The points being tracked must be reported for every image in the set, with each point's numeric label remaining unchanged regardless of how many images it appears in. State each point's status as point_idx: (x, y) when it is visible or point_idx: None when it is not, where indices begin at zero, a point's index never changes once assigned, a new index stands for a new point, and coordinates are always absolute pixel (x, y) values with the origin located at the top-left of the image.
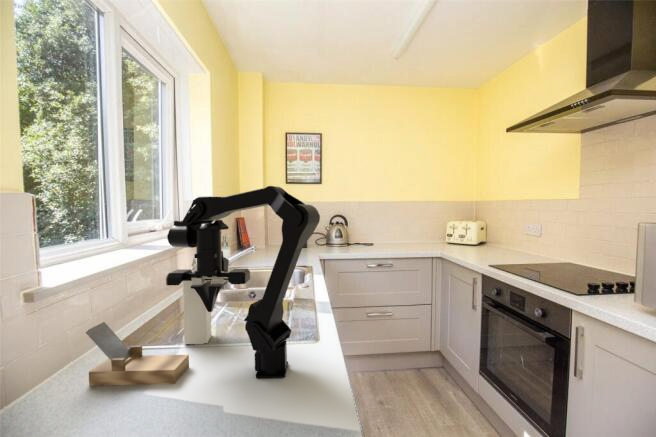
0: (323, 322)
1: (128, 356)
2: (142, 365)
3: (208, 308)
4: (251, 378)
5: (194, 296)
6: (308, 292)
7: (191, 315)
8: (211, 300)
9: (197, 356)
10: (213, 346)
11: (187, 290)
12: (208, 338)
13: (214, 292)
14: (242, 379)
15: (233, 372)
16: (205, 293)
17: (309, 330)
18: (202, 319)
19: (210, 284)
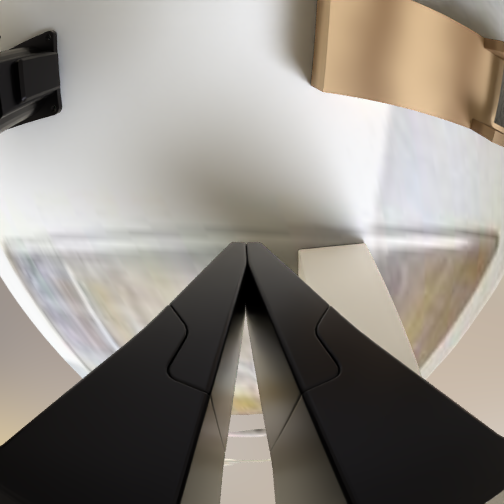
0: (45, 328)
1: (501, 104)
2: (452, 50)
3: (252, 255)
4: (68, 29)
5: None
6: None
7: (373, 323)
8: (190, 301)
9: (305, 163)
10: (270, 230)
11: None
12: (299, 271)
13: (73, 395)
14: (91, 17)
15: (130, 48)
16: (289, 403)
17: (46, 299)
18: None
19: (275, 497)
